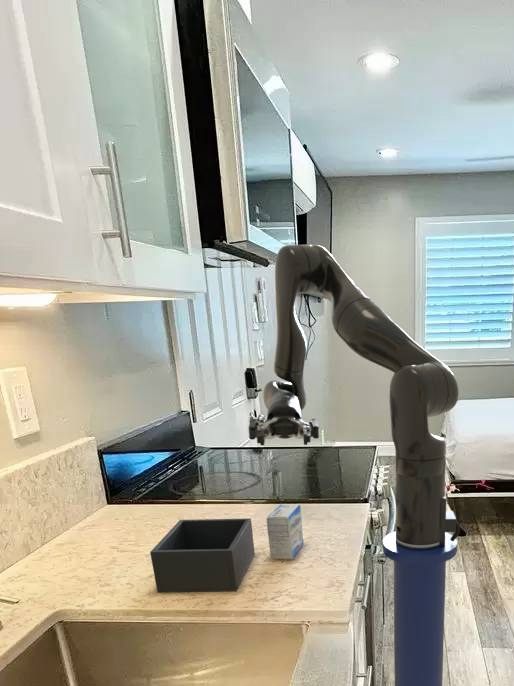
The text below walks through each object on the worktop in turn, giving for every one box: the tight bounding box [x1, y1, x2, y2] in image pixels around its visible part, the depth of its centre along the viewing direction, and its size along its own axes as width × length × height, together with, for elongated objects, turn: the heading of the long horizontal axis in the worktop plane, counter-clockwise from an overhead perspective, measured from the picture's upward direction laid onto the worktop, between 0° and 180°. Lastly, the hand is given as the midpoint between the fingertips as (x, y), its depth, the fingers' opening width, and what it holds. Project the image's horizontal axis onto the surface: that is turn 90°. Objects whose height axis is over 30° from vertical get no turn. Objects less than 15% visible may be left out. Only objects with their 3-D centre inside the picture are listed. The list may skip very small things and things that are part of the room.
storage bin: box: [149, 518, 256, 594], centre depth 103 cm, size 14×16×8 cm
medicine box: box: [266, 503, 304, 561], centre depth 110 cm, size 8×4×9 cm, turn 170°
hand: (283, 440), depth 113 cm, fingers open, 8 cm apart
